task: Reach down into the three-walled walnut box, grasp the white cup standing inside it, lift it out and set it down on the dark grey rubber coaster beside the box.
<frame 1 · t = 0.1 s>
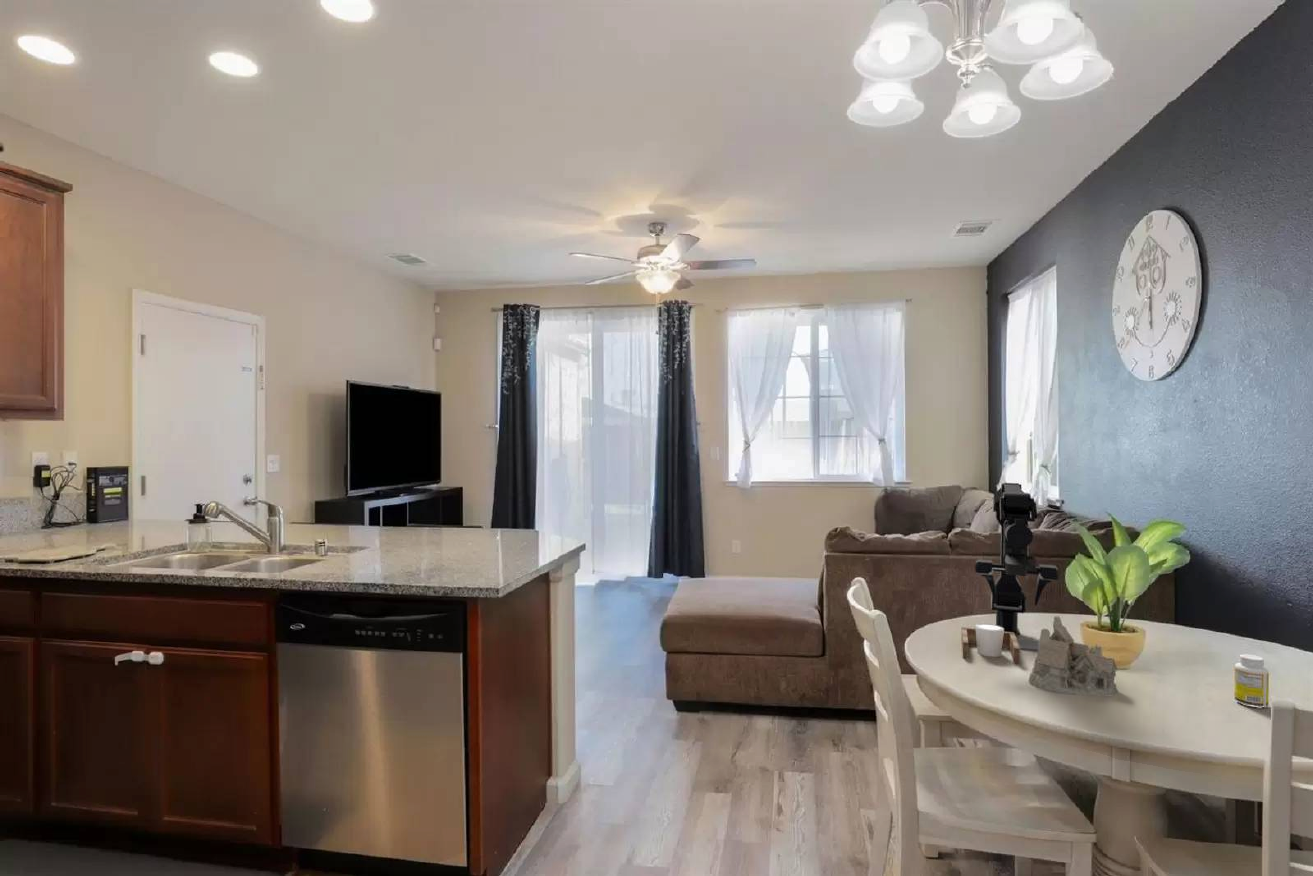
hand: (1015, 602, 178), 14 cm above the table, fingers open, 9 cm apart
supplement bottle: (1251, 705, 149), on the table
coaster: (1033, 646, 189), on the table
white cup: (989, 654, 183), resting in walnut box
walnut box: (989, 652, 183), on the table
ceramic cottage: (1071, 687, 159), on the table
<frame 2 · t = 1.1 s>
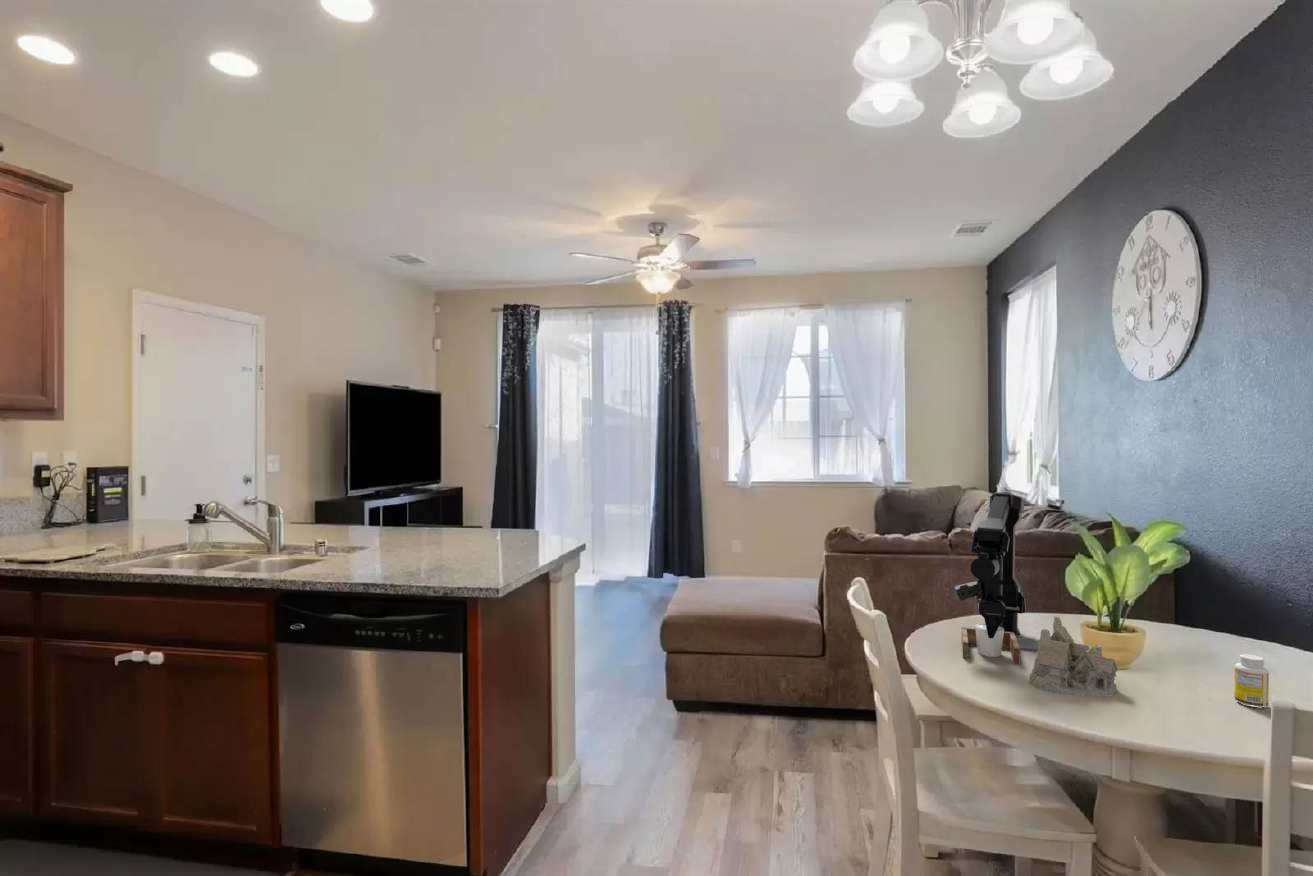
hand: (989, 633, 183), 5 cm above the table, fingers open, 9 cm apart
nothing on the table moved.
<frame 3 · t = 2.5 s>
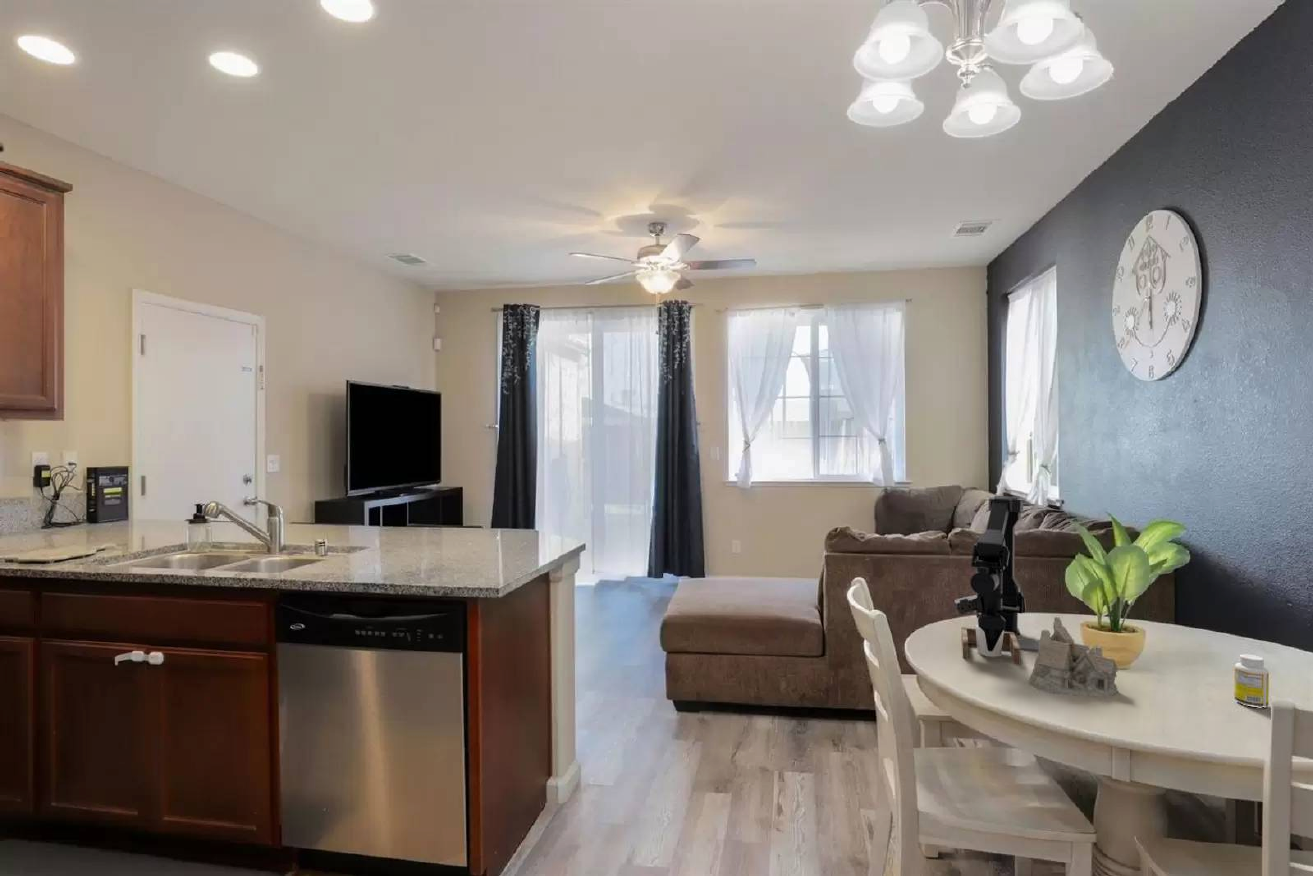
hand: (989, 647, 183), 2 cm above the table, fingers closed on white cup, 6 cm apart
white cup: (989, 654, 183), resting in walnut box, touching gripper
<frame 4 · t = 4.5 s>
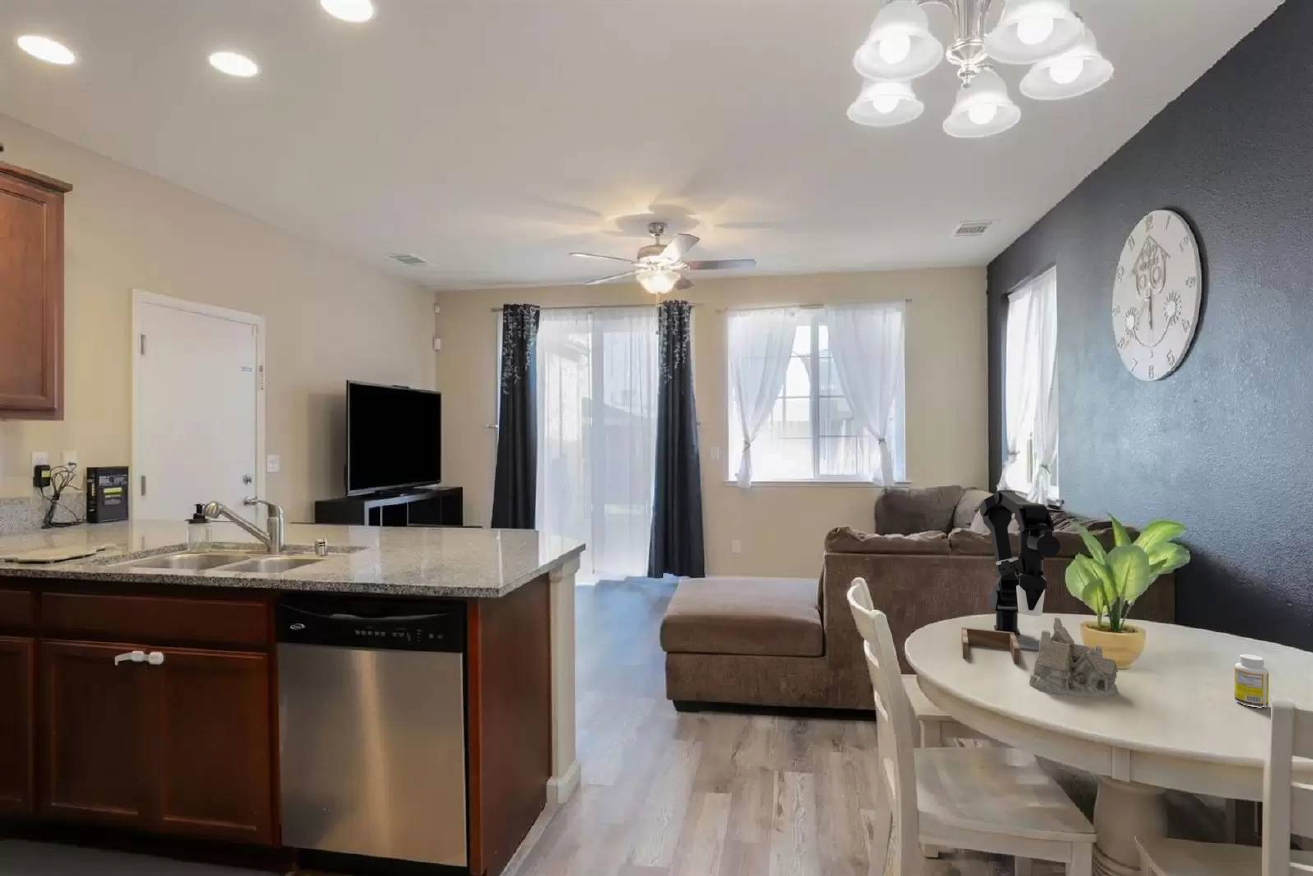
hand: (1029, 607, 189), 11 cm above the table, fingers closed on white cup, 6 cm apart
white cup: (1030, 613, 189), point 9 cm above the table, touching gripper
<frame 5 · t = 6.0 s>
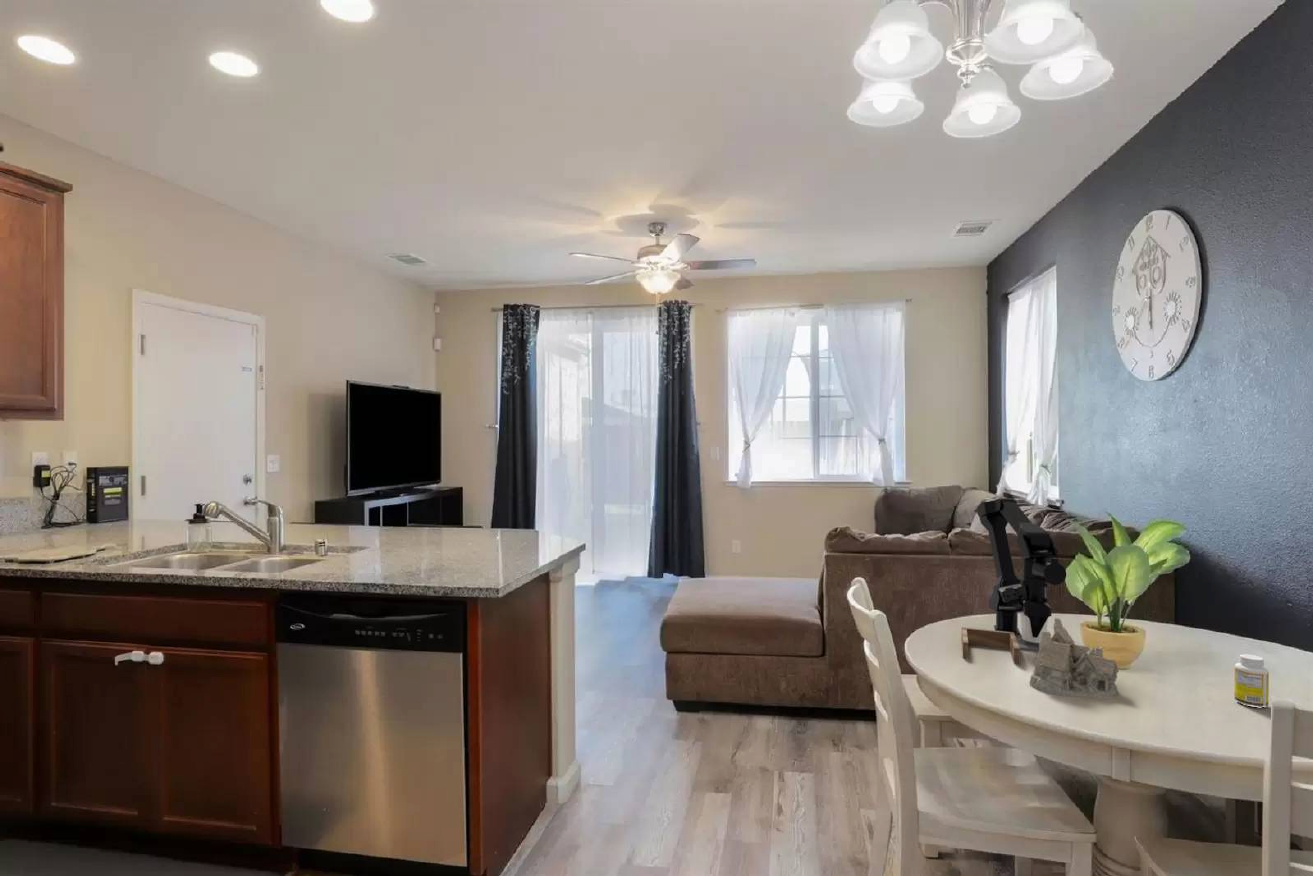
hand: (1033, 634, 189), 3 cm above the table, fingers closed on white cup, 6 cm apart
white cup: (1033, 640, 189), point 2 cm above the table, touching gripper
when the fingers open (3 cm above the table, at t = 7.0 s): white cup stays where it is, resting on coaster.
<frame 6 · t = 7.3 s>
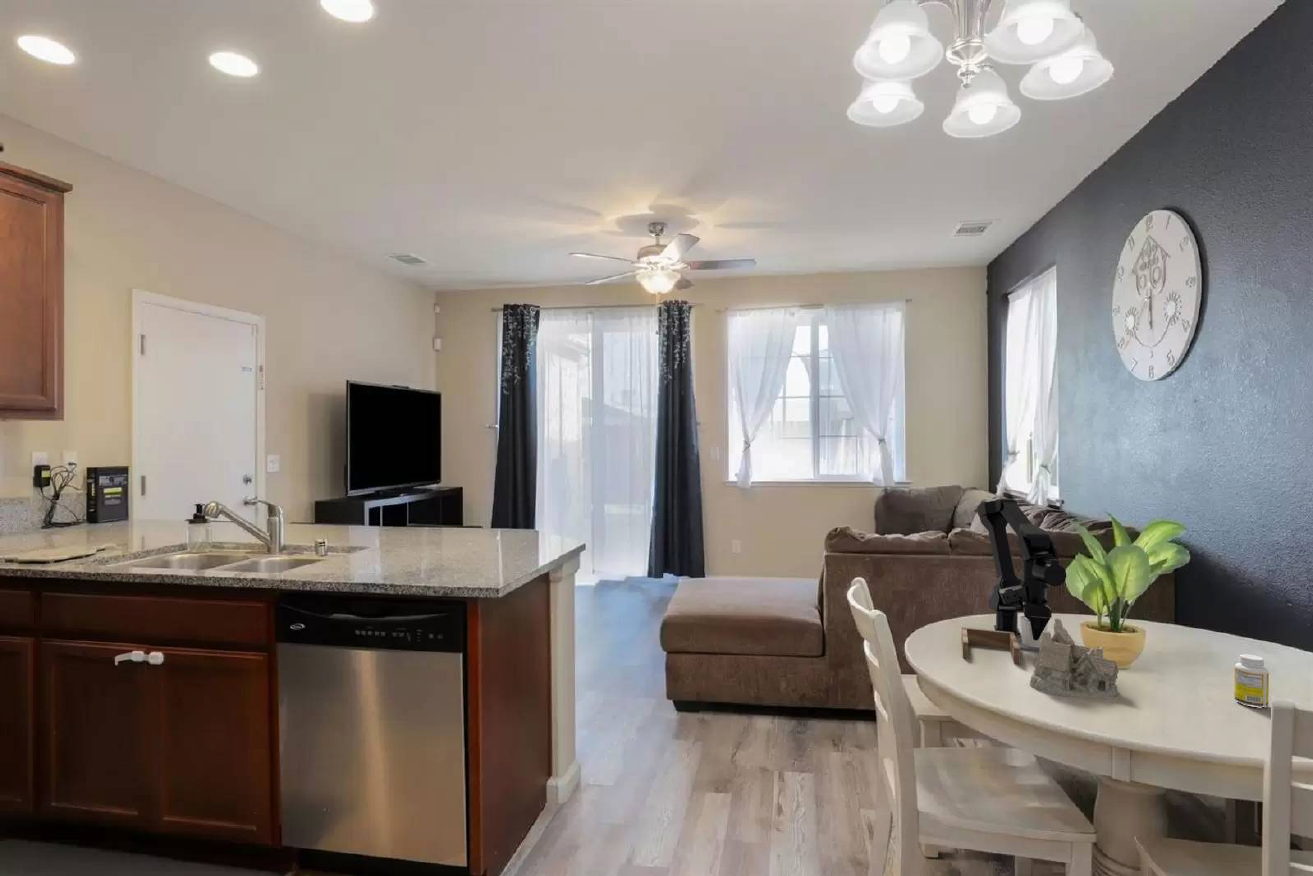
hand: (1033, 635, 189), 3 cm above the table, fingers open, 9 cm apart
white cup: (1033, 645, 189), resting on coaster
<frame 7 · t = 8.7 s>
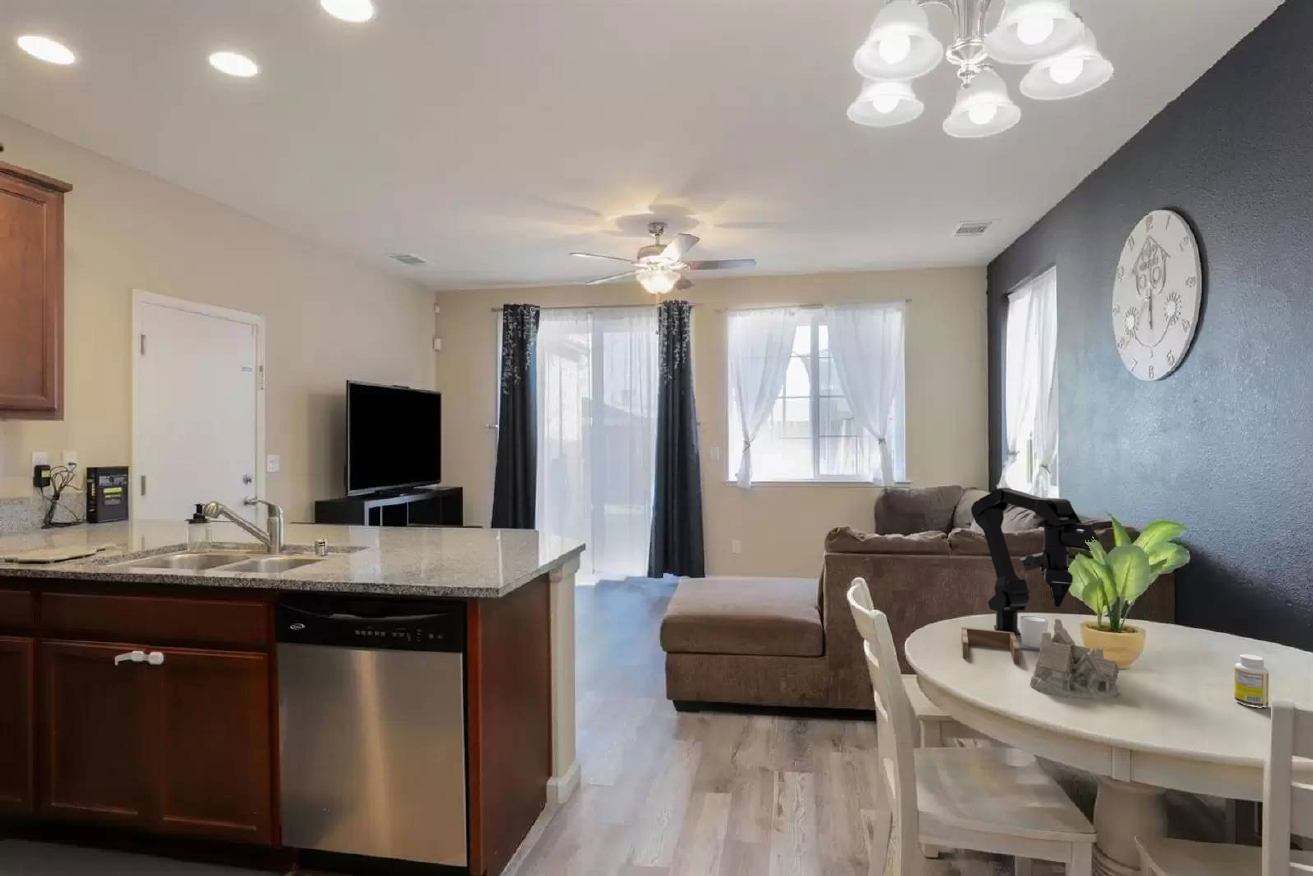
hand: (1055, 603, 188), 12 cm above the table, fingers open, 9 cm apart
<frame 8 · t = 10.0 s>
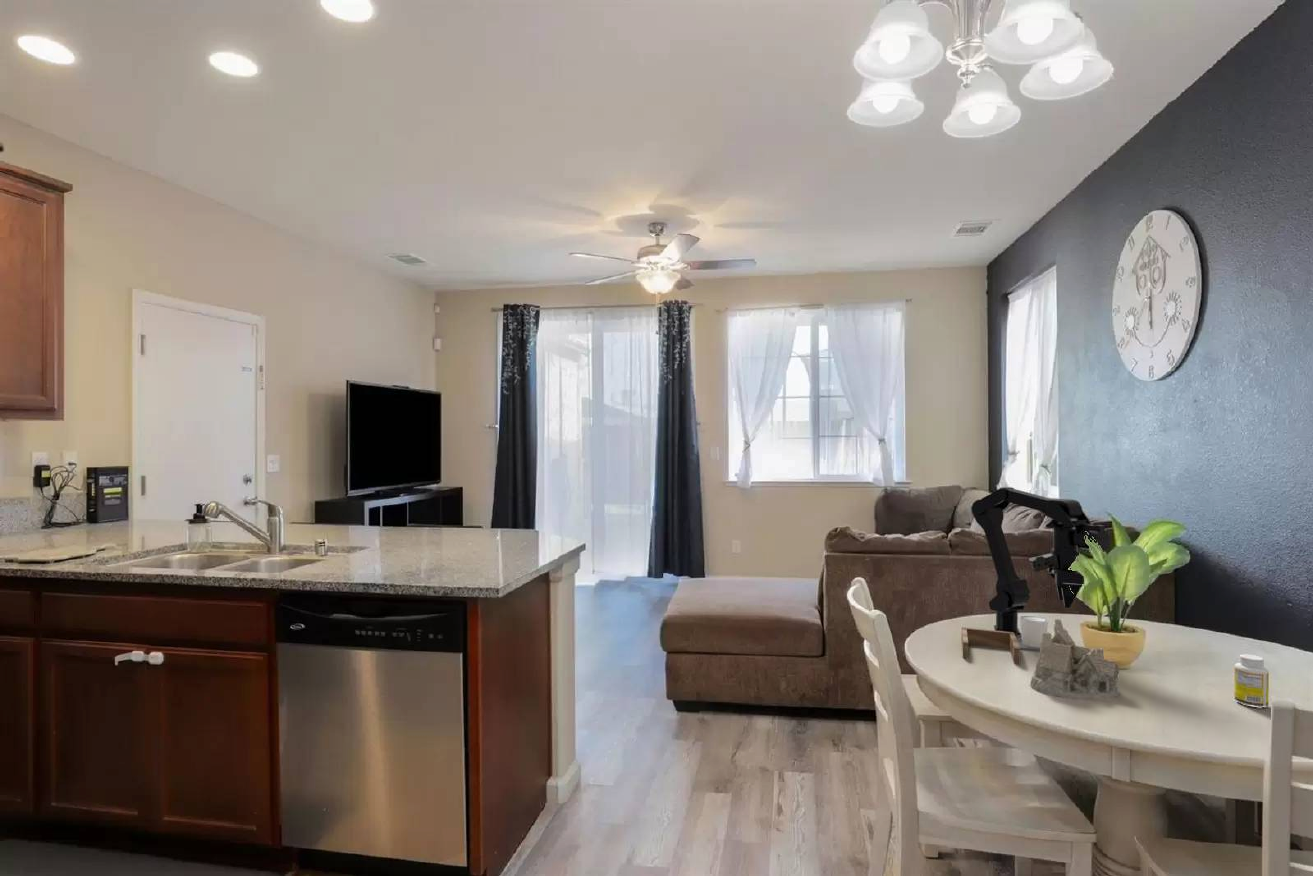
hand: (1064, 603, 188), 12 cm above the table, fingers open, 9 cm apart
at the end: white cup inside the target area on the coaster (0.1 cm from its centre), point 0.4 cm above the coaster's base; white cup tilted 0°; the gripper is holding nothing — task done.
